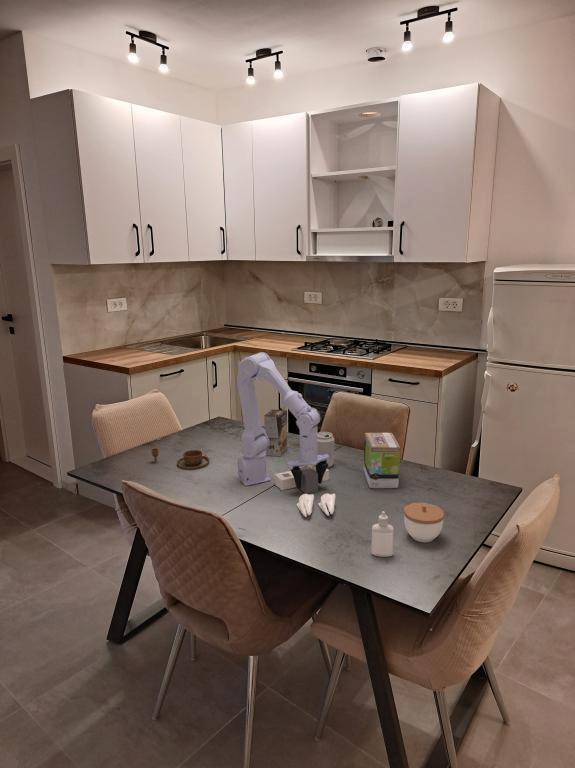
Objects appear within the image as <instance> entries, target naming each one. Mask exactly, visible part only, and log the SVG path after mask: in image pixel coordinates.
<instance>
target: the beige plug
mask: <svg viewBox="0 0 575 768" xmlns="http://www.w3.org/2000/svg"><path fill="white" fill-rule="evenodd" d="M306 467H310V468H312V469H313V470H315V471H316V466H315V465H306Z"/></svg>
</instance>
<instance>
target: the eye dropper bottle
mask: <svg viewBox="0 0 575 768" xmlns="http://www.w3.org/2000/svg"><path fill="white" fill-rule="evenodd" d="M377 520H378V521H377V522H378V523H375V524H373V525H372V527H371V546H370V548H371V549H370V551H371V552H370V553H371V555H373V556H375V557H381V558H387V557H392V556H393V555H394V538H395V537H394V535H395V533H394V532H395V529H394V526H393V525H391V524H389V517H388V515H386V512H385V511H381V514H379V515H378V519H377Z"/></svg>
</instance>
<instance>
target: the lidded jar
mask: <svg viewBox="0 0 575 768" xmlns="http://www.w3.org/2000/svg"><path fill="white" fill-rule="evenodd" d="M444 519H445V512H444V510H443V509H442V508H441V507H439V506H438V505H435V504H431V503H428V502H412V503H409V504H408V505H406V506H405V507H404V509H403V520H404V521H403V522H404V527H405V530H406V531H407V533H408V534H409V536H411V539H413V540H415V541H416V542H420V543H430V542H432V541H434V539H436V538H437V537H438V536H439V535H440V534H441V532H442V530H443V526H444Z"/></svg>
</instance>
